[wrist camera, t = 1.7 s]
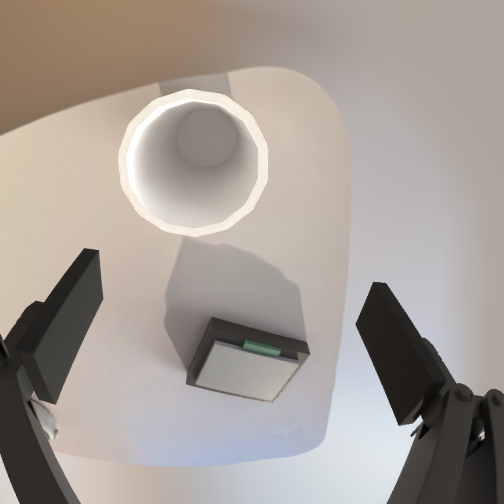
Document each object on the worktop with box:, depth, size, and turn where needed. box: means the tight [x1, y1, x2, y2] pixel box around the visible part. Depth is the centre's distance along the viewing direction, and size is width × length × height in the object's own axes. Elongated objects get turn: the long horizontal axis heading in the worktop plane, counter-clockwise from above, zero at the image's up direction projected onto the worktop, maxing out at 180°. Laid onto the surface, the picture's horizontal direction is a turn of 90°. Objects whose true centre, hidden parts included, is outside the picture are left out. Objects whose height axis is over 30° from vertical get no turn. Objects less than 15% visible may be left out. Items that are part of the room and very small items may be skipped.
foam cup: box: [118, 89, 268, 237], centre depth 24 cm, size 10×9×13 cm
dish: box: [32, 401, 59, 440], centre depth 50 cm, size 14×14×5 cm
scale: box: [186, 317, 310, 403], centre depth 43 cm, size 14×12×3 cm
